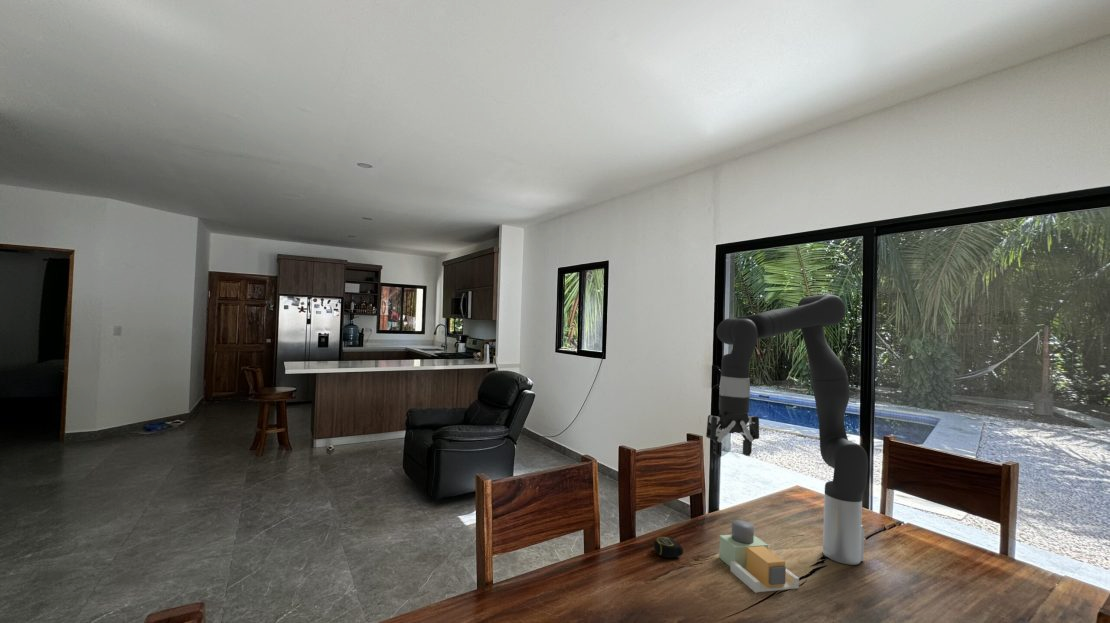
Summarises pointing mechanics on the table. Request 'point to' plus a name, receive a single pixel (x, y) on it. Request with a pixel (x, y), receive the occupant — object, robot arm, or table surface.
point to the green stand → (736, 556)
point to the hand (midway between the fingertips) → (732, 455)
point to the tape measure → (667, 547)
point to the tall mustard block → (766, 566)
